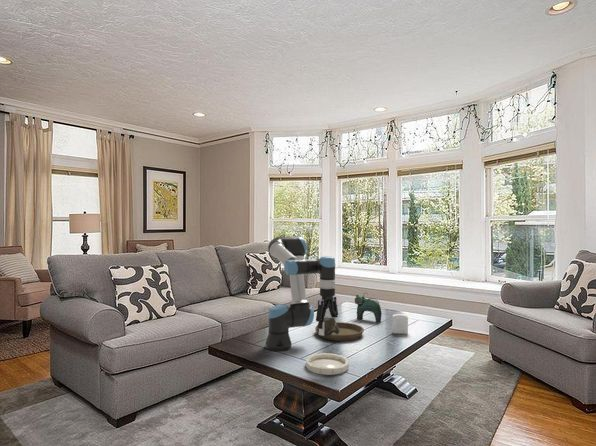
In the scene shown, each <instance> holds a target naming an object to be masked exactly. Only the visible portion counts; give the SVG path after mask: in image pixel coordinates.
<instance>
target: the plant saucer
mask: <svg viewBox="0 0 596 446" xmlns="http://www.w3.org/2000/svg"><path fill="white" fill-rule="evenodd" d="M336 324H337V326H338V327H339V329H340V332H339V334H336V333H335V332H333V333H332V334H331V335H329V336H321V335H319V333H318V332H317V325H316V327H314V328H315V333H317V334H318V335H319V337H321V338H323V339H326V340H330V341H338V342H343V341H344V342H345V341H346V342H347V341H353V340H356V339H359V338H360V337H361V336H362V335H363V333H364V332H365V329H364V327H362V325H359V324H356V323H351V322H350V323H349V322H341V321H340V322H339V321H336Z"/></svg>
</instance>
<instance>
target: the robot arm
mask: <svg viewBox="0 0 596 446" xmlns="http://www.w3.org/2000/svg"><path fill="white" fill-rule="evenodd" d="M267 250H268V253H269V254H270V255H271V257H273V258H274V259H277V260H278V261H279V262H280V263H281V264H282V265H283V270H284V273H285V274H286V275H287V276H288V275H289V284H290V294H291V302H290V303H289V305H287V304H277V305H274V306H271V307H270V308H269V309H268V316H267V318H268V324H267V325H268V328H267V329H268V333H267V336H266V340H265V344H264V345H265V349H266V350H269V351H273V352H283V351H288V350H291V348H292V347H293V346H292V343H293V342H292V341H291V337H290V333H289V332H290V331H289V329H291V328H300V327H303V328H304V327H307V326H310V325H311V324H313V321H314V318H315V321H316V322H317V323H319V334H318V336H320V335H323V336H324V322H323V321H324V318H325V317H326V313H327V310H329V313H330V317H329V318H334V319H335V320H336V318H338V316H339V311H338V304H337V296H335V295H336V288H335V287H336V260H335V257H334V256H329V255H328V256H327V255H326V256H324V255H323V256H321V257H320V258H319V257H317V258H315V257H314V258H311V259H307V258H306V259H304V258H305V255H307V252H308V251H307V250H308V245H307V242H306V240H305V239H304V237H302V236H298V235H297V236H296V235H295V236H277V237H275V238H273V239H271V240H270V242H269V243H268V245H267ZM314 274H315V275H316V274H319V296H321V299H320V300H319V299H318V300H317V311H316V317H315V309H314V307H313V305H311V304H310V301H309V300H307V295H306V294H307V292H306V284H305V275H314ZM336 321H337V320H336Z"/></svg>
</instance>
